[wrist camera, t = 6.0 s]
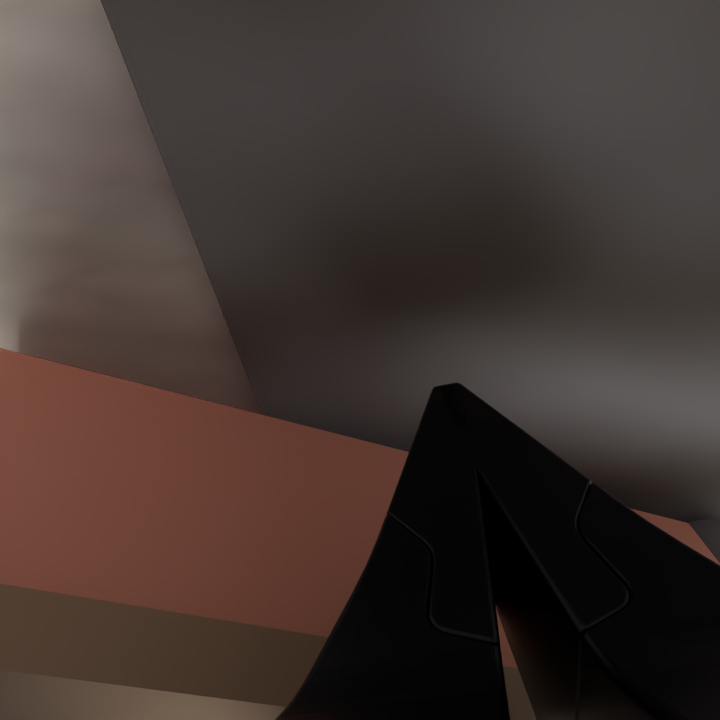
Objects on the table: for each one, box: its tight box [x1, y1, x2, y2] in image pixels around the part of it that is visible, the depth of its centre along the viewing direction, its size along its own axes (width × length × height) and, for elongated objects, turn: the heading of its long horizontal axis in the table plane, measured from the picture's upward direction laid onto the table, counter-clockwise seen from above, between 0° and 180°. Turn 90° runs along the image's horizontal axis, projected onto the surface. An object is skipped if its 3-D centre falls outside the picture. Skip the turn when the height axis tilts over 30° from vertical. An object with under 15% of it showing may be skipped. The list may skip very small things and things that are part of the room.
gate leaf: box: [0, 348, 720, 720], centre depth 10 cm, size 20×2×6 cm, turn 70°
